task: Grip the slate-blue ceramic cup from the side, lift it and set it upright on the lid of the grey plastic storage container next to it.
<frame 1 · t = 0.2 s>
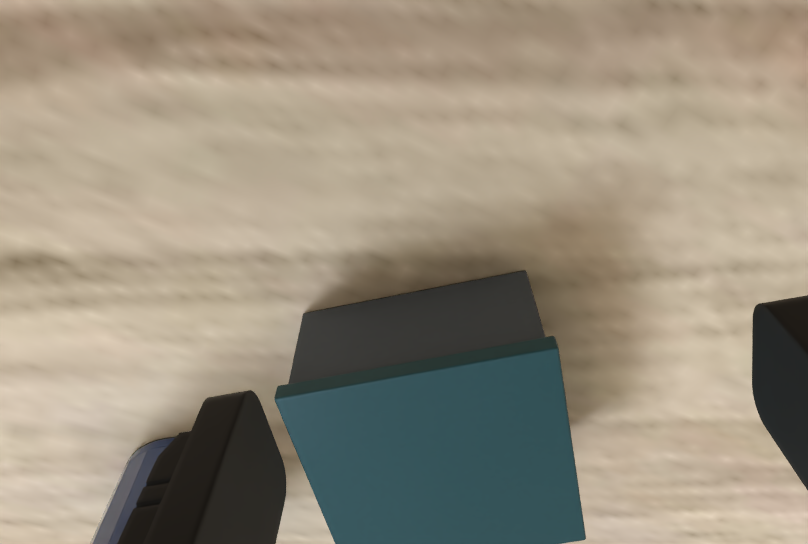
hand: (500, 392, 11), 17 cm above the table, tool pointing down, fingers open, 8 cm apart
cup: (188, 483, 37), on the table
container: (435, 378, 33), on the table
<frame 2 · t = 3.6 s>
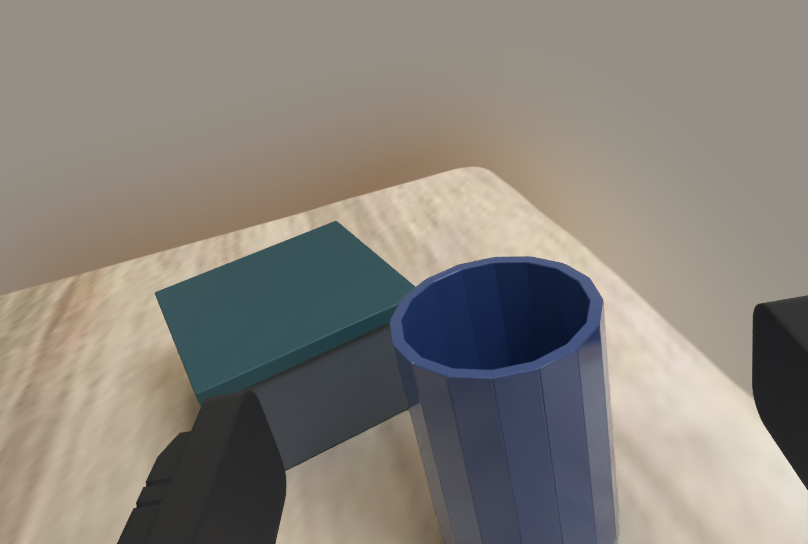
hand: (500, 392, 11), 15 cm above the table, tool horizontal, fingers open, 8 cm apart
cup: (528, 524, 27), on the table
container: (310, 387, 37), on the table
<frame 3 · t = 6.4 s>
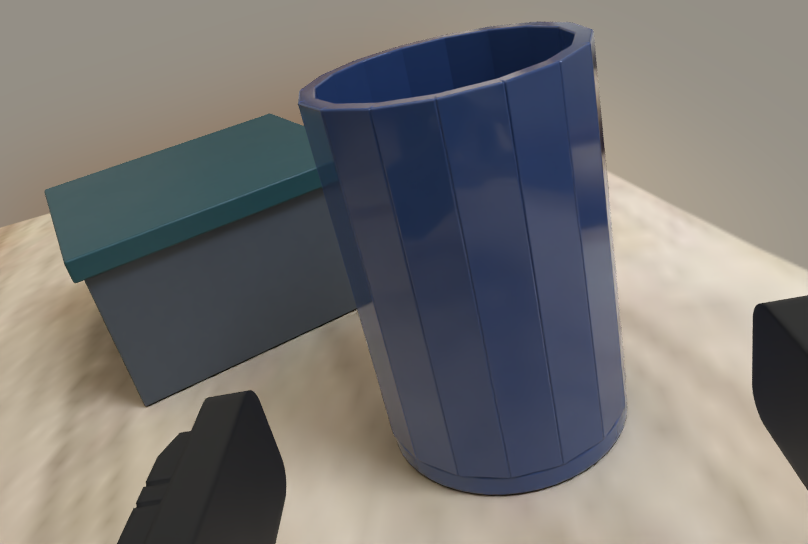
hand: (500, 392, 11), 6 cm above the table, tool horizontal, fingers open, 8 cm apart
cup: (507, 409, 20), on the table
container: (238, 300, 30), on the table
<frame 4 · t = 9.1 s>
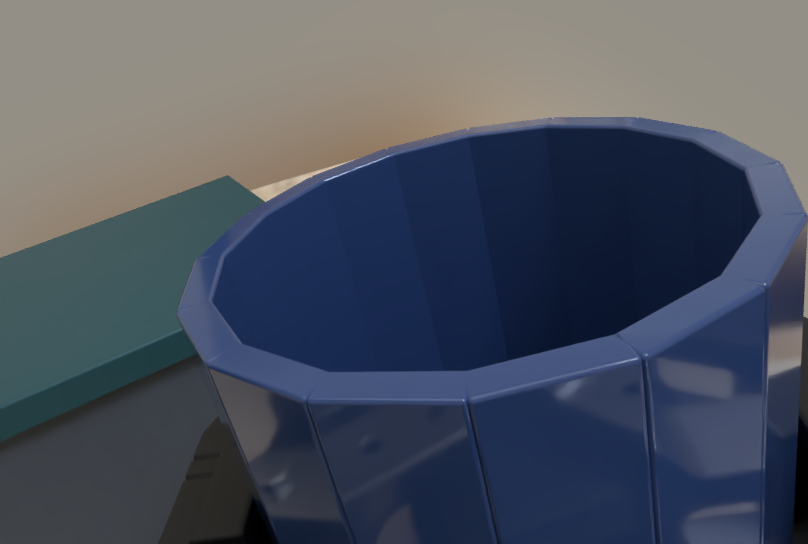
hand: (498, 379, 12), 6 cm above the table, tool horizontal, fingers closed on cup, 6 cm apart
container: (178, 437, 23), on the table
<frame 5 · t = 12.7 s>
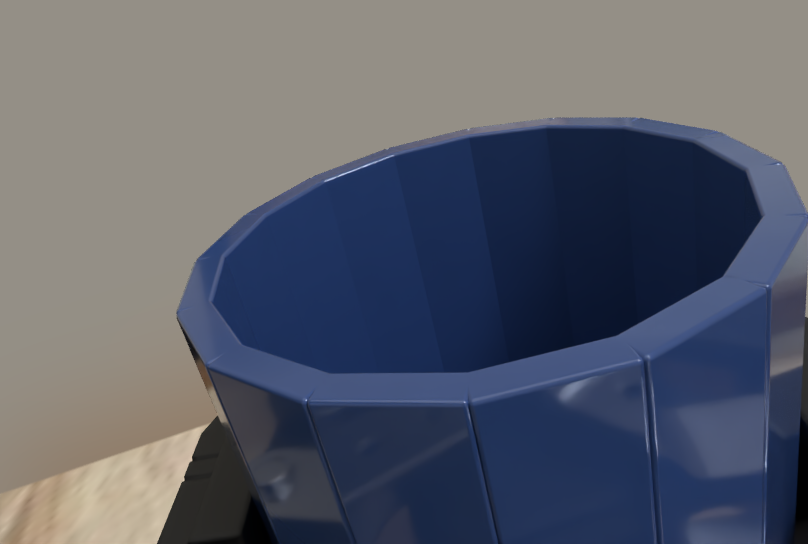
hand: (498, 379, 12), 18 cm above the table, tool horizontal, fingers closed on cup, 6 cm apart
when the fingers open (12 cm above the table, at t = 16.4 s): cup stays where it is, resting on container.
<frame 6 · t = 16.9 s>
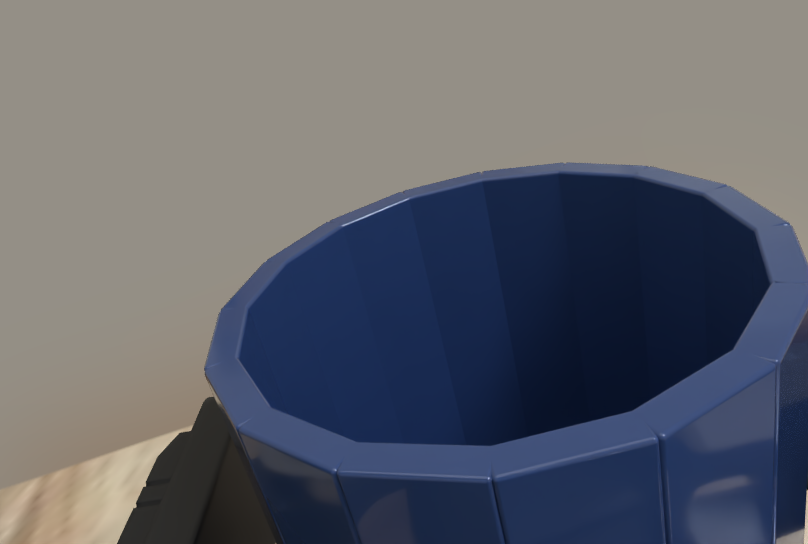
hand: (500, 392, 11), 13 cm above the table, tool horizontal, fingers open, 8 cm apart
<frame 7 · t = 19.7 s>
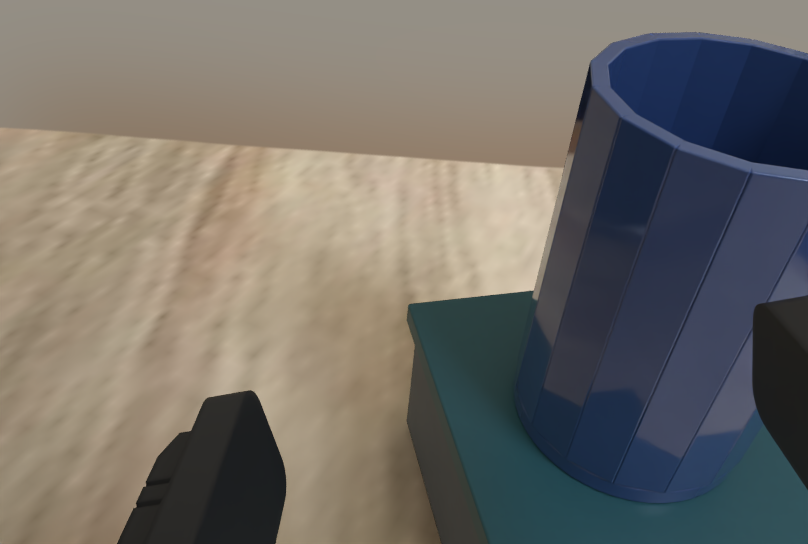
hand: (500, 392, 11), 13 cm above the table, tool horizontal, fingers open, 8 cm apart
cup: (623, 405, 21), point 6 cm above the table, touching container
container: (576, 513, 25), on the table
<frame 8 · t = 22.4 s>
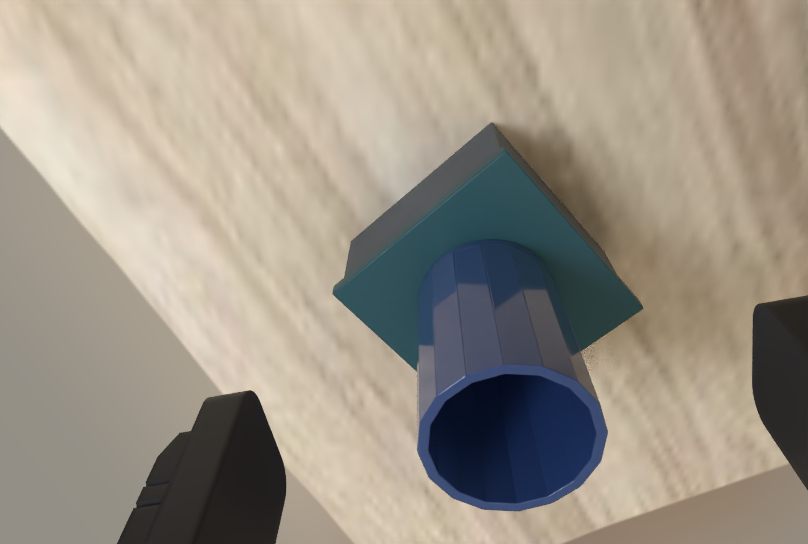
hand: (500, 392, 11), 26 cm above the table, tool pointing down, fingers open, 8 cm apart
cup: (486, 301, 34), point 6 cm above the table, touching container
container: (478, 247, 39), on the table
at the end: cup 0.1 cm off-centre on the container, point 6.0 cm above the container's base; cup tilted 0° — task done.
